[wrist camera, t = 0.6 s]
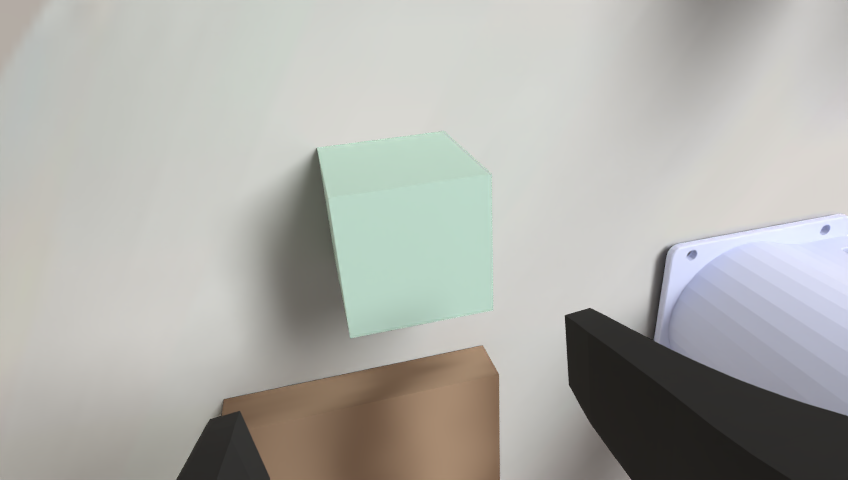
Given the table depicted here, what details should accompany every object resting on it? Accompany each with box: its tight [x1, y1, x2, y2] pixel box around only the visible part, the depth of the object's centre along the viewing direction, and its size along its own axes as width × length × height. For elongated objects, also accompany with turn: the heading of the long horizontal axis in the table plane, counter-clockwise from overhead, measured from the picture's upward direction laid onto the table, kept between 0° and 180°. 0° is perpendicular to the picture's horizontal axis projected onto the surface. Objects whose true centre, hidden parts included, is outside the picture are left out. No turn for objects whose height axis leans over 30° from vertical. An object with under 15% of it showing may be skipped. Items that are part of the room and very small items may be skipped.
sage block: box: [317, 131, 493, 338], centre depth 18 cm, size 4×4×5 cm
